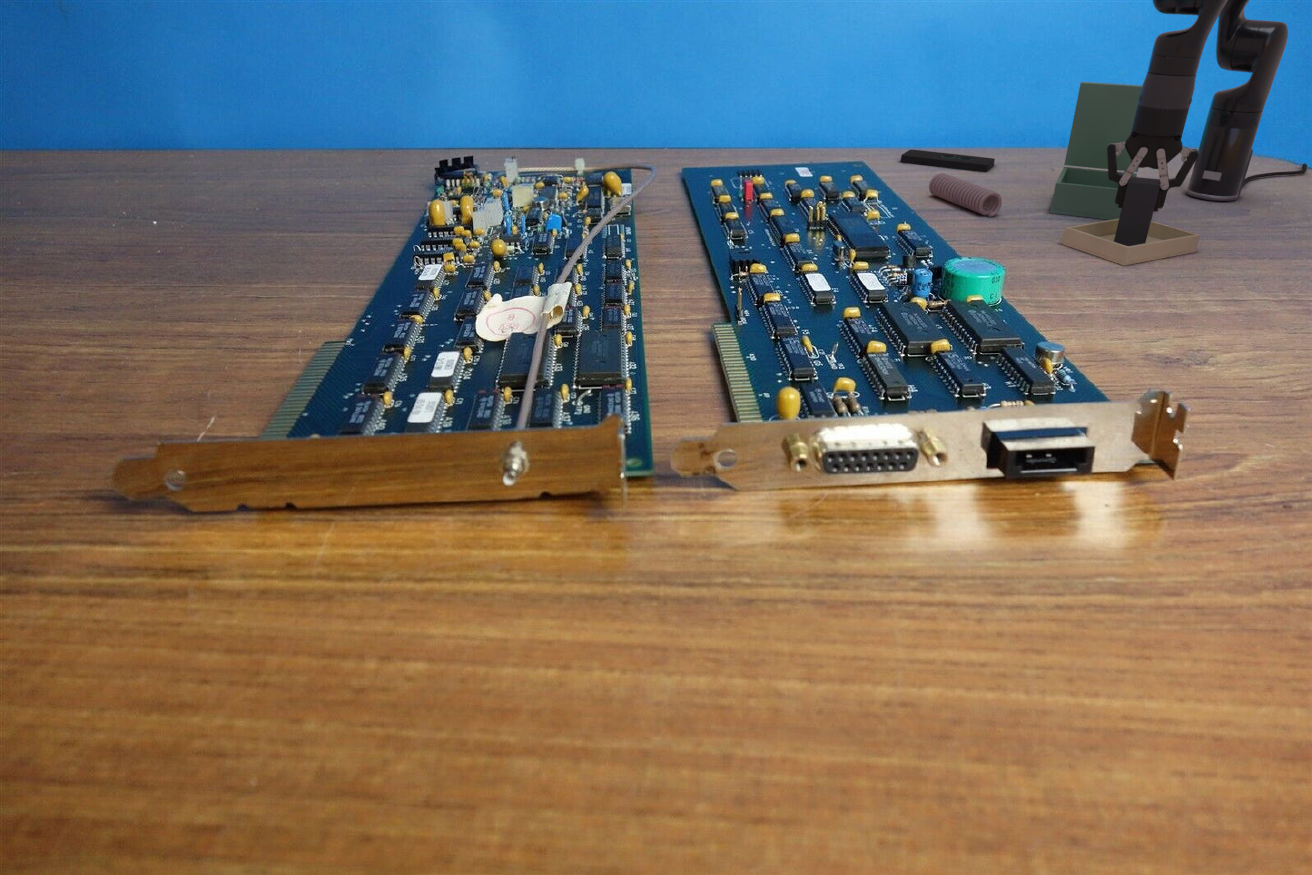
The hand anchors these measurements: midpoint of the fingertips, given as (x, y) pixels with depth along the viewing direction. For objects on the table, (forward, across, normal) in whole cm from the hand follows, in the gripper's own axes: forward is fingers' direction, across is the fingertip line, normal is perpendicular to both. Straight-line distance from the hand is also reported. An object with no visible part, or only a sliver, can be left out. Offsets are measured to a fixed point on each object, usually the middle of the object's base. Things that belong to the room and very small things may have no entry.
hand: (1137, 208), depth 158 cm
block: (+6, 0, 0) cm, 6 cm away
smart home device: (+7, +41, -53) cm, 67 cm away
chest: (+7, +8, -26) cm, 28 cm away
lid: (-7, +8, -32) cm, 33 cm away
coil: (+7, +31, -16) cm, 35 cm away
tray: (+7, 0, 0) cm, 7 cm away
